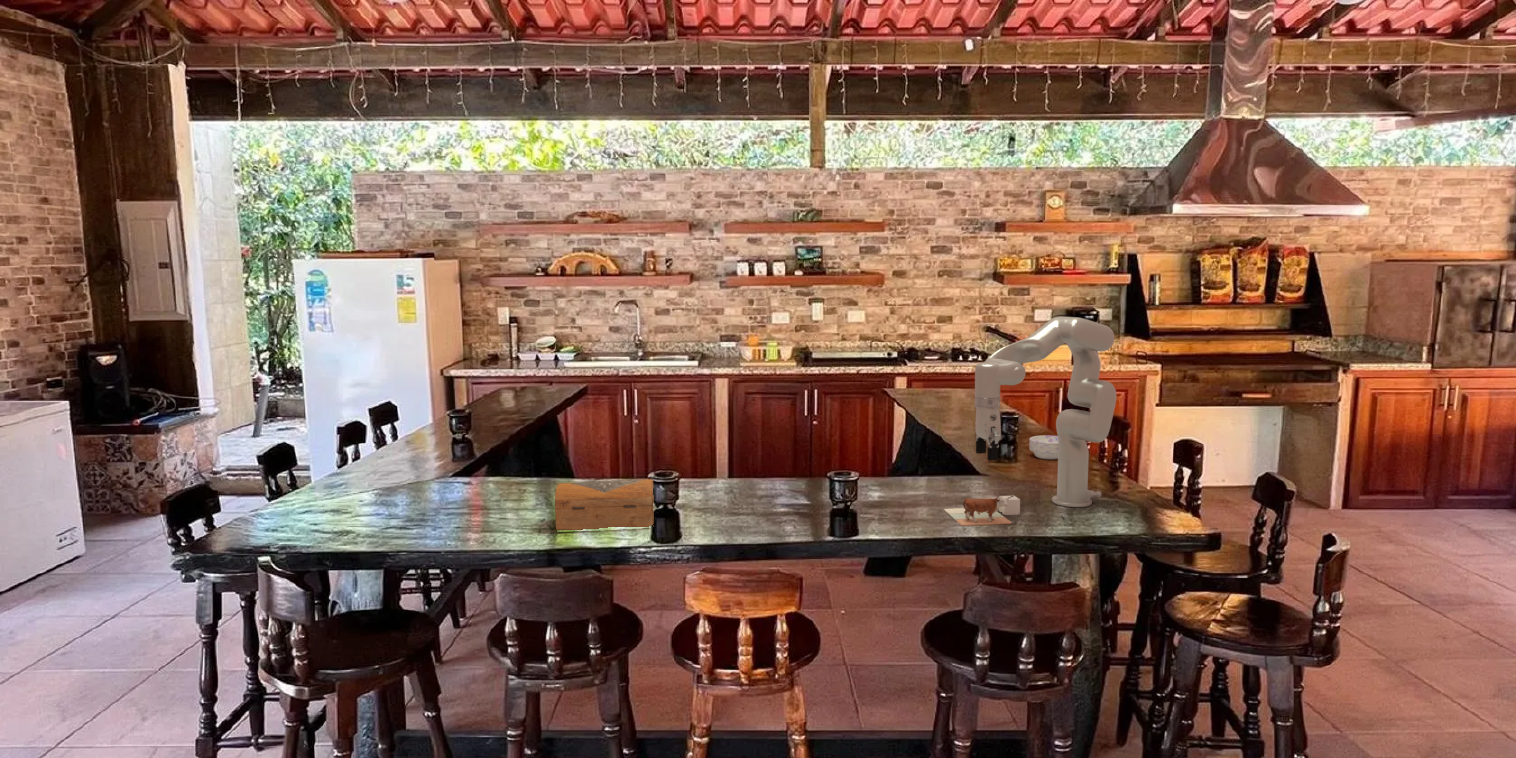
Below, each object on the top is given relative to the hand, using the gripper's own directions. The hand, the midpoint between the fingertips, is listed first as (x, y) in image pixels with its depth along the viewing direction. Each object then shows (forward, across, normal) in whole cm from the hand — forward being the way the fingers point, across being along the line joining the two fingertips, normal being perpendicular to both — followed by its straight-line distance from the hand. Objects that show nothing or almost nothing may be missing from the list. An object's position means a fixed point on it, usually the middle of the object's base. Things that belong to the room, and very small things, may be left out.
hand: (986, 456), depth 273 cm
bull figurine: (+20, -2, +1) cm, 20 cm away
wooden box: (+20, +16, +119) cm, 121 cm away
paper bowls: (+22, +82, -58) cm, 103 cm away
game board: (+20, +4, +2) cm, 21 cm away
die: (+21, +7, -10) cm, 24 cm away
